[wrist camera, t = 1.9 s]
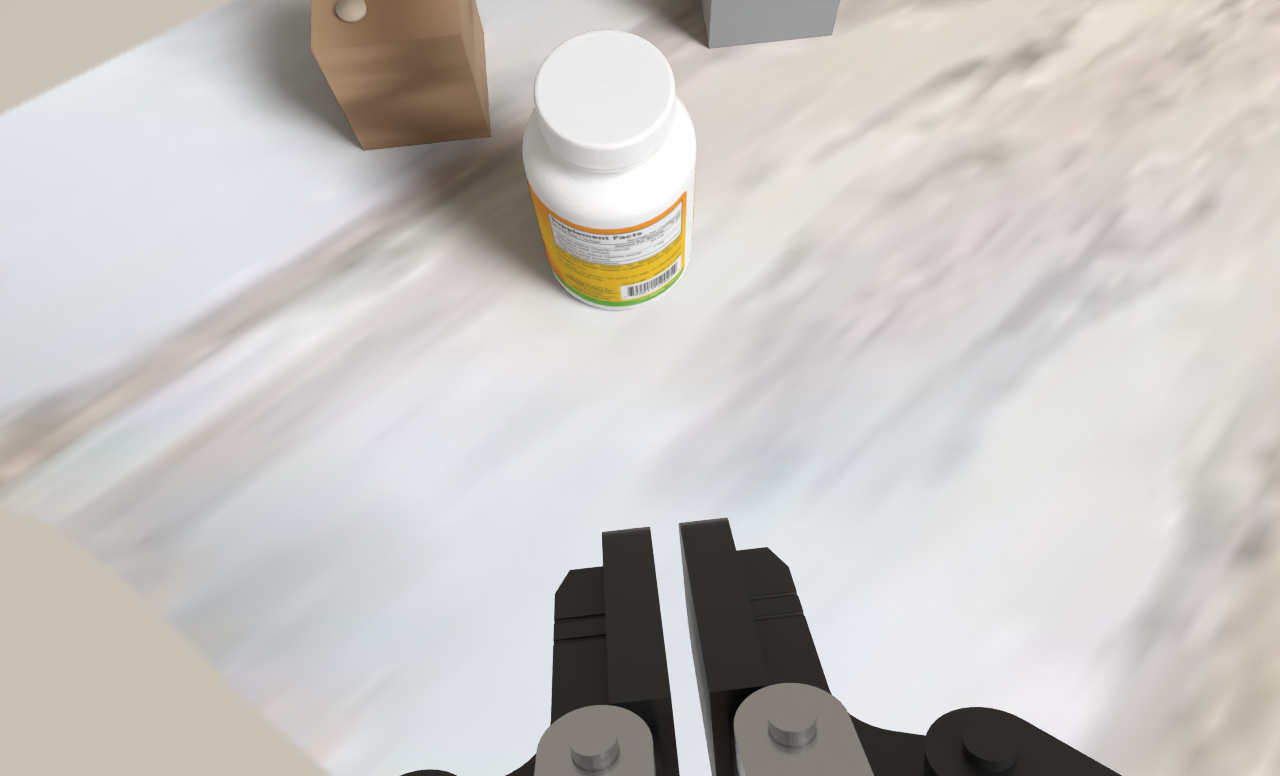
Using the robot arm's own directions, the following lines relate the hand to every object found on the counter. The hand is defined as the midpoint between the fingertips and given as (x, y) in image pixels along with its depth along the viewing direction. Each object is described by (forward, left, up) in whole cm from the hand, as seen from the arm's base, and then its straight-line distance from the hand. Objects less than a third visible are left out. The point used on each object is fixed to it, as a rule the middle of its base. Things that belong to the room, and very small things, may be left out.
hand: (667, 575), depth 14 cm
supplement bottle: (0, +15, -18) cm, 23 cm away
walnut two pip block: (-7, +23, -18) cm, 30 cm away
